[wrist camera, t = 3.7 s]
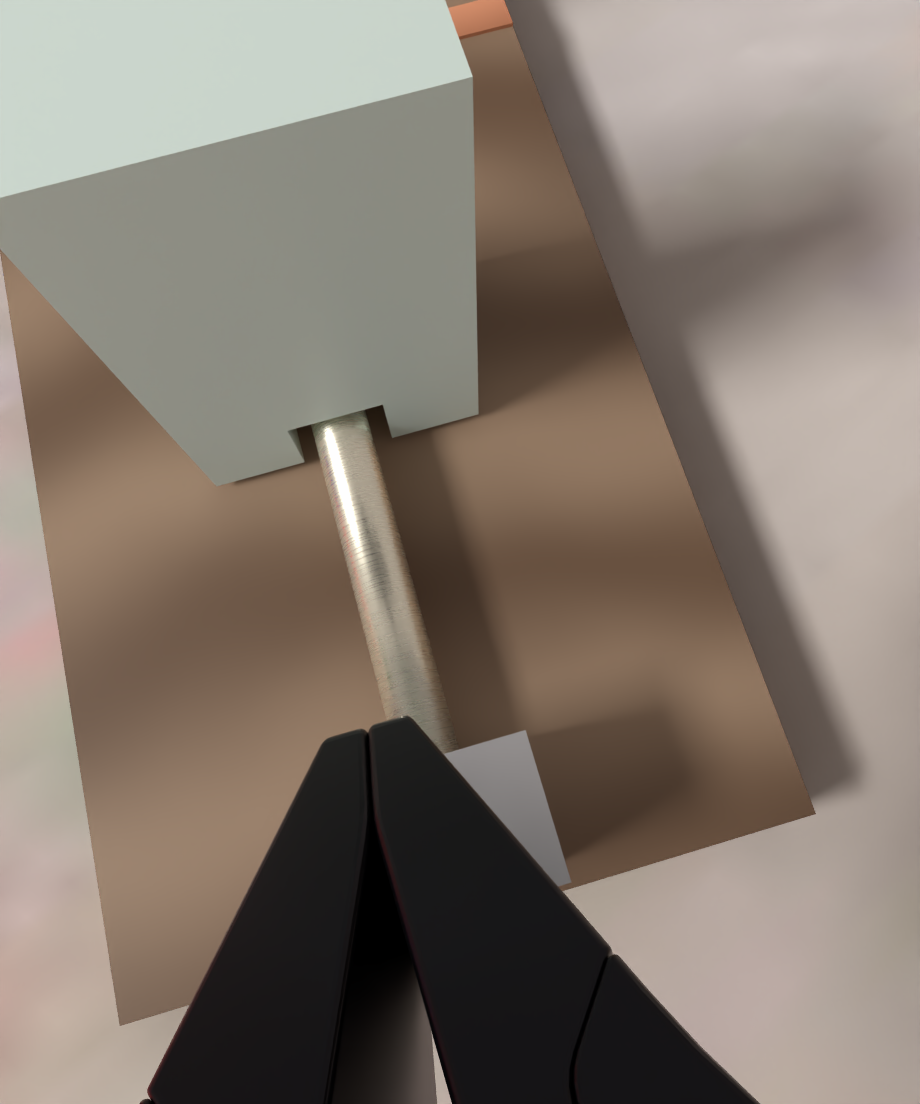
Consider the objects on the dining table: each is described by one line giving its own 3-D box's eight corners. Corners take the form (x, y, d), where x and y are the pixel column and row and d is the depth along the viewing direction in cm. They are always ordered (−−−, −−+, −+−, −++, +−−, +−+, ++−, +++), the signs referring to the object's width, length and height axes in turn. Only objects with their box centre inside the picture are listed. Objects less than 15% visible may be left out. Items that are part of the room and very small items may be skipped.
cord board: (788, 811, 18) (817, 813, 16) (150, 1005, 17) (117, 1027, 16) (466, -46, 24) (465, -101, 23) (-4, 71, 24) (-38, 22, 22)
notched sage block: (478, 414, 18) (472, 76, 10) (216, 486, 18) (-38, 207, 9) (431, 265, 20) (386, -164, 11) (182, 331, 19) (-75, -53, 10)
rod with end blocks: (585, 850, 17) (634, 884, 11) (350, 921, 17) (282, 991, 11) (313, -31, 23) (260, -284, 18) (140, 11, 23) (32, -231, 18)
